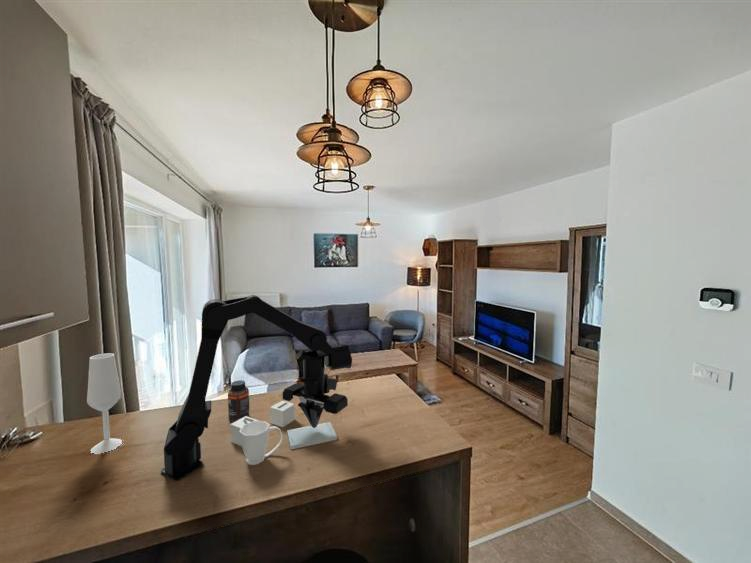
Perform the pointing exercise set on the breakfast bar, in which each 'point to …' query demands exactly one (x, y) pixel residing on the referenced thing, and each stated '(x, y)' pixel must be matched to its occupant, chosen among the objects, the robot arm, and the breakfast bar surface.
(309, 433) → the hard drive
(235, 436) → the block seven
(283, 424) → the block one
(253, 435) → the cup
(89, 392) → the champagne flute
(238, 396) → the supplement bottle
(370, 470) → the breakfast bar surface
